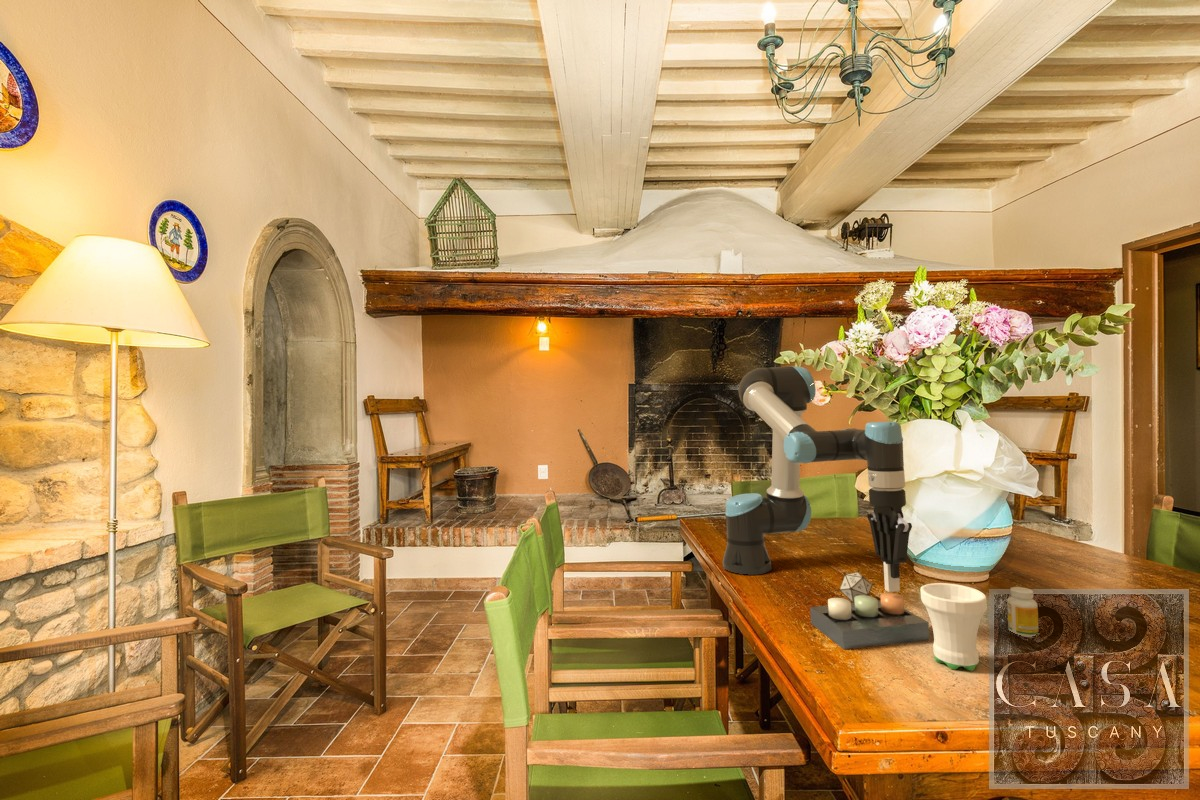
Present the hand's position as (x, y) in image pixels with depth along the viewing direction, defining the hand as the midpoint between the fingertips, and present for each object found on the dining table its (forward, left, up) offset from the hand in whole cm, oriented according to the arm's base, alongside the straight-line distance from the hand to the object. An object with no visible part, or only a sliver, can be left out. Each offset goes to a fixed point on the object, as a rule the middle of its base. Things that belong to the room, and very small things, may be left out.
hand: (892, 590), depth 125 cm
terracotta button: (0, 0, -5) cm, 5 cm away
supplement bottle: (+8, +25, -9) cm, 28 cm away
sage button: (0, -6, -5) cm, 8 cm away
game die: (-17, +1, -9) cm, 20 cm away
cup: (+17, +1, -9) cm, 19 cm away
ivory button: (0, -13, -5) cm, 14 cm away
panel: (0, -7, -9) cm, 11 cm away
